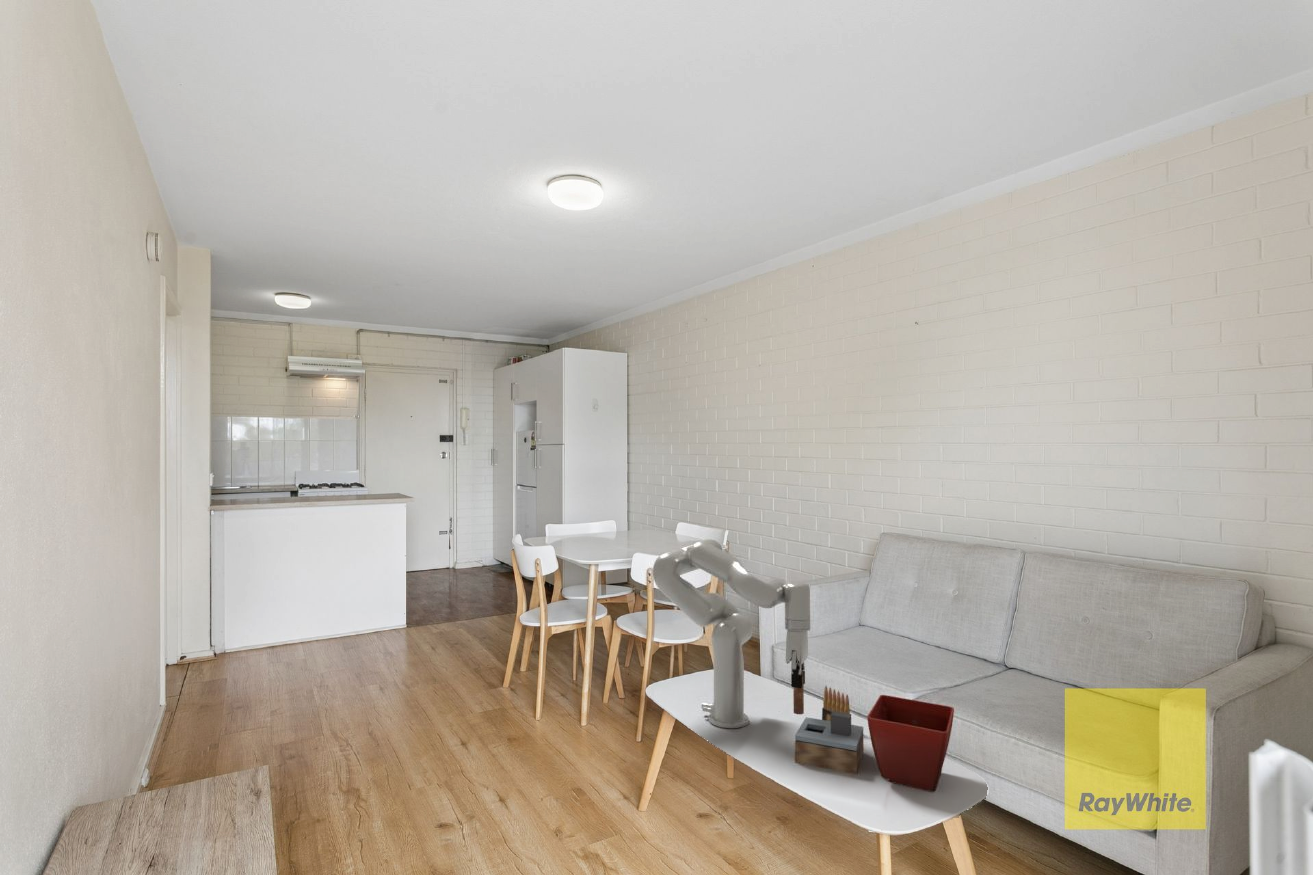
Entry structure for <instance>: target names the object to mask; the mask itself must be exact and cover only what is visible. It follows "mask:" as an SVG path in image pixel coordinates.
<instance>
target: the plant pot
mask: <svg viewBox="0 0 1313 875" xmlns="http://www.w3.org/2000/svg"><path fill="white" fill-rule="evenodd" d="M954 716H955V708H954V707H953V706H949V705H944V704H937V703H933V702H932V703H931V702H928V701H927V702H926V701H921V700H916V699H915V700H914V699H910V698H904V697H899V696H893V695H886V694H879V696H878V699H877V700H876V701H875V704H874V705H873V706H872V708H871V710H870V711H869V713H868V715H867V716H866V717H867V726H868V731H869V737H870V742H871V745H872V751H873V754H874V758H875V761H876V764H877V767H878V770H879V773H880V776H881V777H882V778H883V779H886V780H888V782H889V783H893V784H897V785H902V786H905V787H911V788H914V789H917V790H918V789H919V790H921V791H922V790H923V791H927V792H932V793H933V792H934V793H935V792H936V790H937V788H938V786H939V781H940V777H941V775H942V771H943V767H944V762H945V760H946V756H947V752H948V747H949V744H950V738H951V735H952V734H951V733H952V729H953V722H954Z"/></svg>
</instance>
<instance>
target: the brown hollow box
mask: <svg viewBox="0 0 1313 875" xmlns="http://www.w3.org/2000/svg"><path fill="white" fill-rule="evenodd" d="M806 731H812V732H818V733H823V732H824V731H823V730H817V729H811V728H808V729H807V730H806ZM864 745H865V744H864V733H863V734H862V737H861V739H860V742H859V745H858V748H857V751H854V750H849V749H843V748H838V747H832V746H827V745H821V744H816V743H810V742H805V741H799V740H794V757H795V758H794V763H796V764H800V765H807V766H812V767H815V768H819V769H820V768H821V769H826V770H831V771H837V772H841V773H847V774H852V775H856V776H857V774H858V771H859V767H860V766H861V763H862V762H861V761H862V760H863V755H864V749H865V748H864Z"/></svg>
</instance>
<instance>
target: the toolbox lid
mask: <svg viewBox="0 0 1313 875" xmlns="http://www.w3.org/2000/svg"><path fill="white" fill-rule="evenodd" d="M808 728H811V729H817V730H823V731H824V732H823V733H818V732H812V731H806V730H807V729H808ZM862 734H863V735H864V726H862V725H854V724H852V713H850V714H849V713H843V712H836V711H832V713H831V721H826V720H822V719H819V718H812V717H807V716H806V717H805V718H804V720H803V721H802V723H801V725H800V727H799V728H798V730H797V731H796V733H795V736H794V739H795V740H799V741H805V742H810V743H816V744H821V745H827V746H832V747H838V748H843V749H849V750H854V751H857V748H858V745H859V742H860V739H861V737H862ZM795 740H794V741H795Z"/></svg>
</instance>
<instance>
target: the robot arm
mask: <svg viewBox="0 0 1313 875" xmlns="http://www.w3.org/2000/svg"><path fill="white" fill-rule="evenodd" d="M652 568H653V569H652V577H653V580H654V583H655V585H656V587H657V589H658V590H659V591H660V592H661V593H662V594H663V595H664V596H665V597H666V598H667V599H669V600H670V601H671V602H672V603H673V604H674V605H675V606H676V607H677V608H678V609H679V610H680V611H681V612H683V613H684V614H685V615H686V617H688V618H689V619H690V620H691V621H693V623H695V624H696V625H697V626H699V627H701V628H704V627H705V628H706V627H710V626H713V625H714V628H713V630H712V632H711V647H712V652H713V654H712V655H713V656H712V658H713V703H708V702H702V703H701V710H702V712H706V713H709V715H708V721H709V722H710V724H712V725H713V726H716V727H719V728H724V729H737V728H738V729H739V728H742V727H745V726H747V725H748V724H749V721H750V720H749V719H750V717H749V716H748V715H747V714H746V713H744V712H745V710H744V709H745V706H744V705H745V691H744V690H745V682H744V681H745V668H744V667H745V665H744V664H745V663H744V654H743V645H744V644H745V643H747V642H748V641H749V640H750V639H751V637H752V635H753V632H754V631H753V630H754V629H753V625H752V623H751V621H750V619H749V618H748V617H747V616H746V614H744V613H743V612H742V611H741V610H739V608H737V607H736V606H735V605H734V604H733V603H732V602H730V601H729V600H728V599H727V598H726V597H725V596H723V595H721V594H720V593H716V592H709V593H706V594H704V593H702V592H701V591H700V590H698V588H696V587H695V586H694V585H693V584H692V583H691V582H689V581H687V580H686V579H684V578H682V577H681V576H682V575H685V574H687V573H691V572H694V571H697V570H702V571H704V572H706V573H708V574H709V575H711V576H712V577H715V578H716V579H719V580H721V581H722V582H724V583H726V584H727V585H728V587H730V588H731V589H732V590H733V591H734V592H735V593H736V594H737V595H738V596H740V597H741V598H743V599H745V600H747V601H748V602H750V603H752V604H754V605H756V606H758V607H760V608H763V609H773V608H774V607H776V606H778V605H780V604H784V629H785V630H786V637H785V638H786V639H785V640H786V641H785V642H786V643H785V663H786V664H790V663H791V664H790V669H791V670H790V672H791V674H790V677H791V678H790V680H791V681H790V682H791V685H790V686H791V687H792V688H793V687H795V688H802V674H801V670H803V681H804V685H806V669H805V668H806V665H805V663H806V660H807V658H808V654H809V646H808V645H809V644H808V642H809V640H808V638H809V637H808V632H809V631H811V588H810V585H809V584H808V583H806V582H803V581H788V580H783V579H778V578H772V579H769V580H767V581H763V580H761V579H759V578H757V577H755V576H754V575H752V574H750V573H749V572H747V571H746V570H745V568H744V567H743V564H742V561H741V560H740V559H739V558H737V557H736V556H734V555H732V554H730V553H728V552H726V551H724V550H723V547H722V545H721V544H720V542H718V541H717V540H715V539H711V538H707V539H703V540H699V541H697V542H695V543H693V544H691V545H688V546H684V547H681V548H678V549H674V550H670V551H666V552H664V553H661V555H659V556H658V557H657V558H656V559H655V560H654V564H653V567H652Z"/></svg>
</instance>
